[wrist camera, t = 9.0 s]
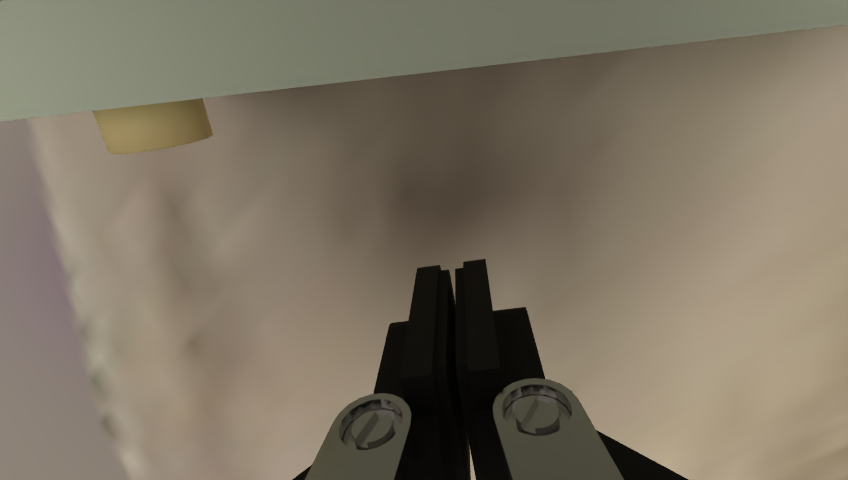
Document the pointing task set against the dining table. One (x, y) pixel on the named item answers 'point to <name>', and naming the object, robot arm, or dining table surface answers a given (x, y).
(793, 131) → the dining table surface
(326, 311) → the dining table surface
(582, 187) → the dining table surface
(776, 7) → the cabinet door
